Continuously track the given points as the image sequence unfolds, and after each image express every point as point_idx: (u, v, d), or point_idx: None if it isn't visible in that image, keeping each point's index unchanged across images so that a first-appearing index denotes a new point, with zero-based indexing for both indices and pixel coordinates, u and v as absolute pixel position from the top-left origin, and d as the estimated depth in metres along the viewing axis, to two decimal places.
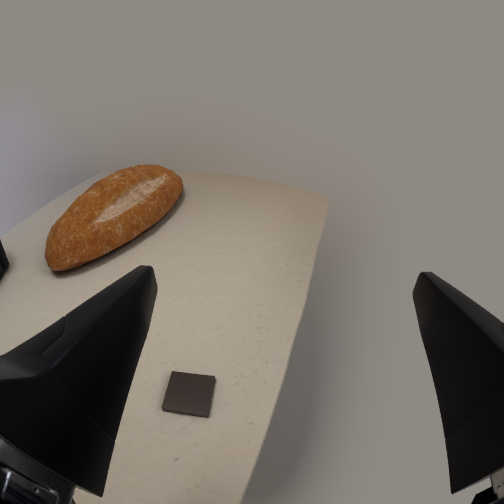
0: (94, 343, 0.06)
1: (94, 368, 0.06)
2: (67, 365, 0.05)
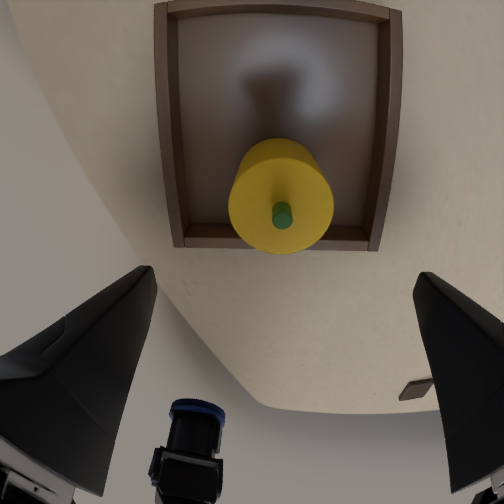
0: (94, 343, 0.06)
1: (94, 368, 0.06)
2: (67, 365, 0.05)
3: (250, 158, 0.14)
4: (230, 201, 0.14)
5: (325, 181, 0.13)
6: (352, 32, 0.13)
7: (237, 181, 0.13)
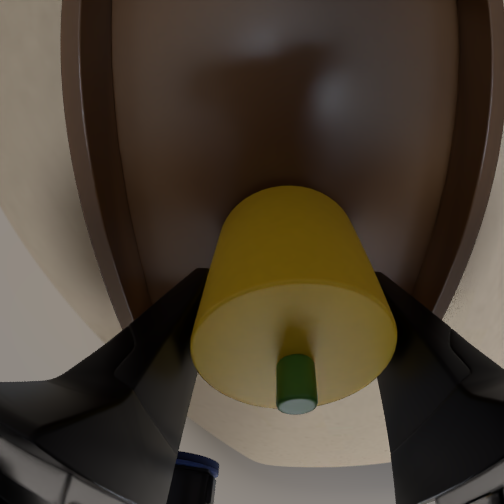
0: (168, 354, 0.06)
1: (167, 381, 0.06)
2: (146, 382, 0.05)
3: (234, 248, 0.07)
4: (193, 349, 0.06)
5: (390, 318, 0.06)
6: (419, 3, 0.06)
7: (202, 320, 0.06)
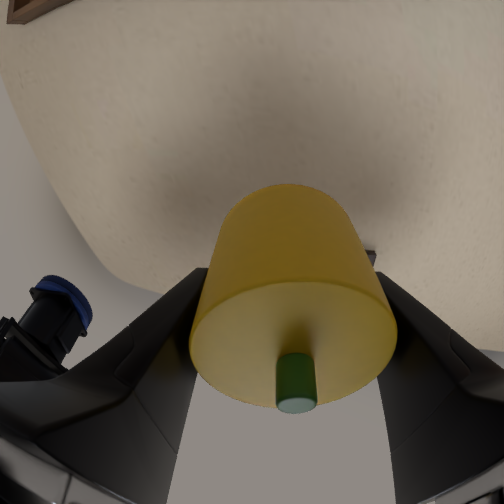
0: (168, 354, 0.06)
1: (167, 381, 0.06)
2: (146, 382, 0.05)
3: (233, 247, 0.07)
4: (192, 348, 0.06)
5: (390, 316, 0.06)
6: None
7: (201, 319, 0.06)
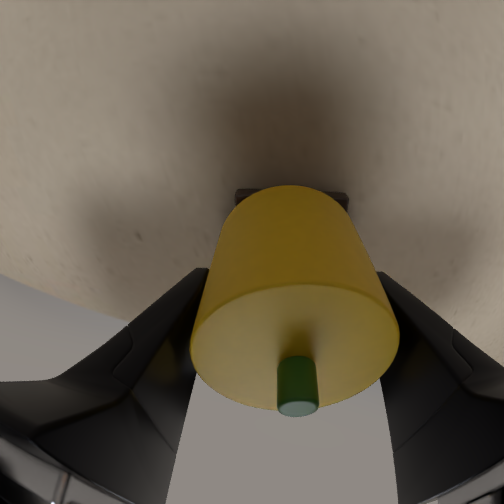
0: (167, 354, 0.06)
1: (166, 381, 0.06)
2: (145, 382, 0.05)
3: (234, 249, 0.07)
4: (192, 350, 0.06)
5: (393, 319, 0.06)
6: None
7: (202, 322, 0.06)
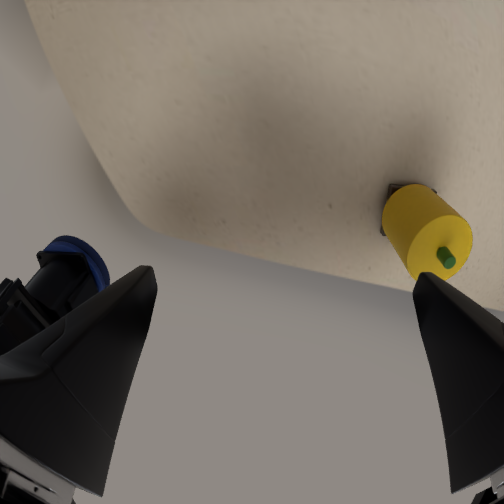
0: (94, 343, 0.06)
1: (94, 368, 0.06)
2: (67, 365, 0.05)
3: (417, 207, 0.16)
4: (412, 245, 0.15)
5: (471, 232, 0.14)
6: None
7: (421, 230, 0.15)
